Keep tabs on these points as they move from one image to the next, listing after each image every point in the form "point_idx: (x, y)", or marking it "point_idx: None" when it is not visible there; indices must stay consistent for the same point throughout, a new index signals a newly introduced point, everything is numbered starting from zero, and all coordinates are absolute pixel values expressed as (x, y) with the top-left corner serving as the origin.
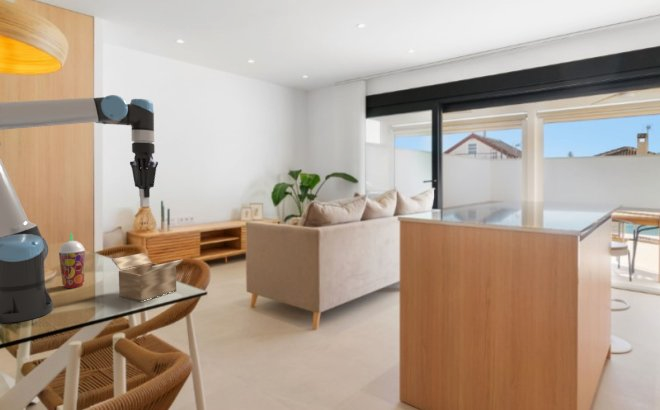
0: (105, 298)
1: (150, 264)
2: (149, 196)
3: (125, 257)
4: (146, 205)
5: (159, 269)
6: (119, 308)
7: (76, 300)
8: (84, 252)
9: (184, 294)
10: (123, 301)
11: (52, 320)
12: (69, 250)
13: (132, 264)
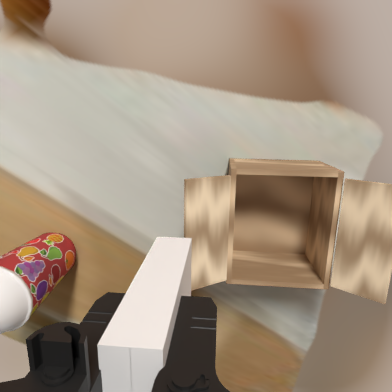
0: None
1: (235, 185)
2: (214, 304)
3: None
4: (190, 267)
5: (353, 248)
6: (296, 300)
7: None
8: (24, 275)
9: (357, 168)
10: None
11: (244, 381)
12: (19, 323)
13: (220, 241)
